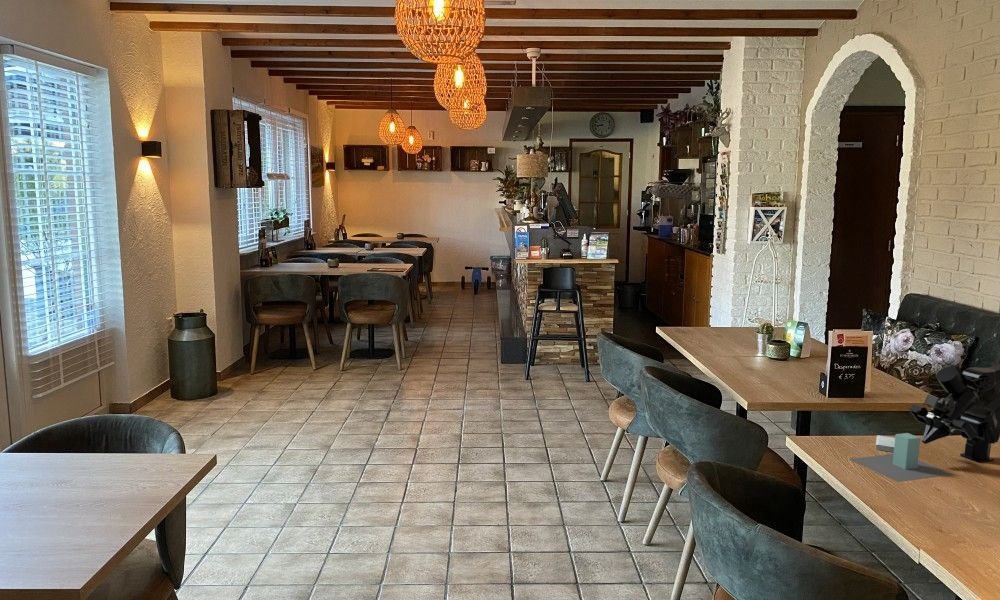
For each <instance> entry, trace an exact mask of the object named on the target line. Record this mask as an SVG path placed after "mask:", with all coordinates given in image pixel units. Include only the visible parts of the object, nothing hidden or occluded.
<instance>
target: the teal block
mask: <svg viewBox="0 0 1000 600" xmlns="http://www.w3.org/2000/svg"><path fill="white" fill-rule="evenodd" d="M894 438H895V445H894V452H893V454H894V455H893V464H894V465H896V466H899V467H901V468H903V469H912V468H917V467H918V460H919V456H920V455H919V454H920V448H921V446H920V445H921V440H922V438H921V437H919V436H917V435H914V434H911V433H909V432H903V433H895V437H894Z"/></svg>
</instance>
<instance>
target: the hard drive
mask: <svg viewBox="0 0 1000 600" xmlns="http://www.w3.org/2000/svg"><path fill="white" fill-rule="evenodd" d="M875 438H876V439H875V450H877V451H885V452H891V453H894V445H895V437H893V436H892V437H891V436H886V435H878V434H877V435H876V437H875Z"/></svg>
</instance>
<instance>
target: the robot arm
mask: <svg viewBox="0 0 1000 600" xmlns="http://www.w3.org/2000/svg"><path fill="white" fill-rule="evenodd" d="M935 378H936V379H937V381H938V382H939V384H940V386H941V387H942V388H943V390H945V392H946V393H948V394H949V395H947V397H939V396H935V395H932V394H927V395H926V398H925V400H924V402H923V405H925V406H928V407H930V411H931V412H930V411H929V410H928V408H927V407H925V406H923V405H920V404H912V405H911V406H910V407H909V409H908V411H909V412H910V414H911V415H912V417H914V419H915V420H916V421H917V422H918V423H920V424H923V425H925V430H924V432H923V434H922V438H921V443H922V444H924V445H927V444H929V443H932V442H934V441H936V440H937V441H938V440H939V439H940V440H941V439H942V438H946V437H952V436H953V435H954V434H953V432H954V431H956V430H957V431H960V434H961V437H962V438H963V439H966V441H965V445H964V452H963V453H960V454H959V455H960V456H961V457H964V458H966V459H969V460H971V461H974V462H976V463H985V462H992V461H995V458H994V457H992V456H991V457H990V454H991V447H992V444H993V445H994V444H996V443H998V442H999V440H1000V434H999V432H998V431H997V425H998V421H999V420H1000V395H998V397H997V398H995V399H994V400H992V401H991V402H990V403H988V404H987V405H985V406H984V407H980V406H977V405H973V406H971V407H970V408H969V406H970V405H971V404H972V403H976V404H979V403H980V398H979V393H977V392H975V391H974V390H977V391H980V392H986V391H989V390H990V389H992V388H994V387H995V386H996V384H997V383H998V382H1000V363H998V364H994V365H992V366H988V367H979V366H978V367H968V368H964V369H963V370H961V368H960V366H959V365H957V364H953V363H952V364H951V365H950V366H947V367H943V368H941V369H939V370H938V371H937V373H936V375H935ZM967 408H969V409H968V410H967Z"/></svg>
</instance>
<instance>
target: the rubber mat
mask: <svg viewBox="0 0 1000 600" xmlns="http://www.w3.org/2000/svg"><path fill="white" fill-rule="evenodd" d="M893 455H894V453H888V454H882V455H874V456H873V455H871V456H864V457H856V458H848V460H849V461H852V462H854V463H856V464H858V465H860V466H863V467H864V468H867V469H869V470H871V471H873V472H876V473H878V474H880V475H882V476H885V477H886V478H888V479H891V480H893V481H896V482H897V483H900V482H905V481H906V482H907V481H914V480H920V479H929V478H936V477H945V476H951V475H954V474H953V473H951V472H948V471H946V470H943V469H941V468H938V467H936V466H934V465H932V464H929V463H927V462H924V461H921V460H919V459H918V467H917V468H912V469H903V468H901V467H899V466H896V465H894V464H893Z"/></svg>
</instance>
